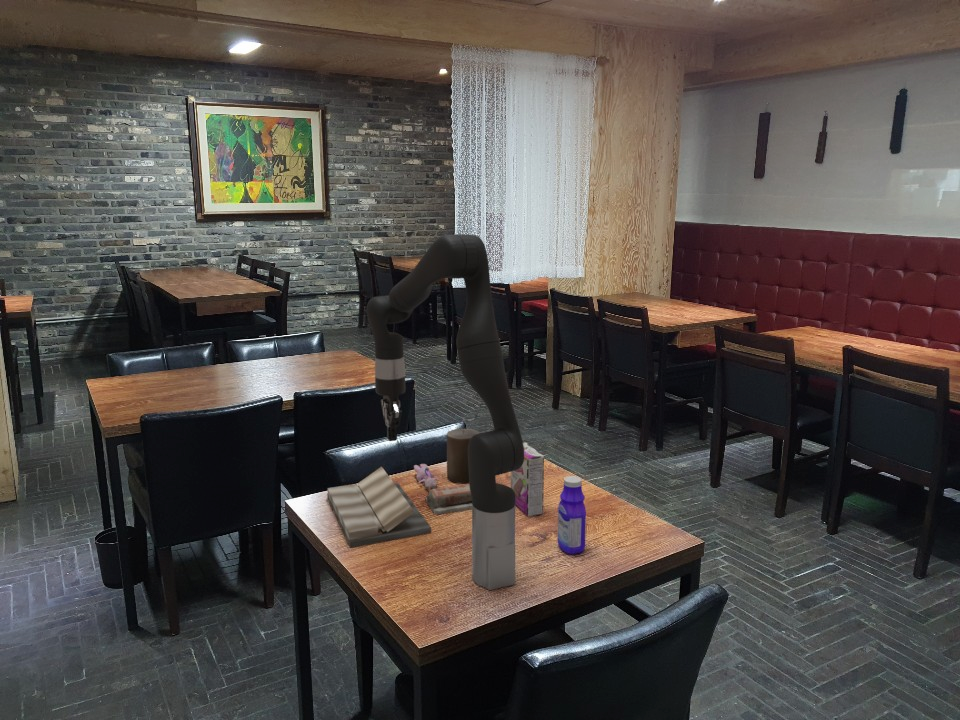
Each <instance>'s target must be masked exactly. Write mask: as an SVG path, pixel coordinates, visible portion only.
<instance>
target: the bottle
mask: <svg viewBox="0 0 960 720" xmlns="http://www.w3.org/2000/svg"><path fill="white" fill-rule="evenodd" d="M582 483H583V479H582V478H581V477H579V476H575V475H569V476H566V477H564V479H563V489H562V490H561V491H562V492H561V493H560V495H559V497H560V500H559V503H558V507H557V509H558V510H557V515H558V517H557V544H558V546H559V548H560V549H561V550H562V551H564V552H565V553H566V554H568V555H574V554H579V553H582V552H583V551H584V550H585V548H586V527H587V526H586V524H587V523H586V522H587V520H586V519H587V509H586V506H585V503H584V501H585V497H586V496H585V494H584V492H583V490H582V486H583V485H582Z"/></svg>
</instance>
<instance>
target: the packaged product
mask: <svg viewBox="0 0 960 720" xmlns="http://www.w3.org/2000/svg"><path fill="white" fill-rule="evenodd" d="M424 500H425V502H426V503H427V504H426V505H428V507H429V508H430V510H431V511H432V513H433V515H435V516H436V515H437V516H439V515H444V513H445V514H449V513H459V512H466V511H472V496H471V492H470V486H469V484H461V485H455V486H454V485H453V486H446V487H438V488H436V489H432V488H431V489H430V490H429V491H428V494H427V496H426V497H425V498H424Z"/></svg>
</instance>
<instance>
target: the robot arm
mask: <svg viewBox="0 0 960 720" xmlns="http://www.w3.org/2000/svg"><path fill="white" fill-rule="evenodd" d="M443 279H463V281H464V287H465V293H466V305H465V308H464V309H465V310H464V313H463V316H462V318H461V321H460V324H459V328H458V331H457V334H456V339H455V343H456V350H457V356H458V361H459V367H460V372H461V374H462V376H463V377H464V379H465V380H466V382H467V383H468V384H469V385H470V387H471V388H472V389H473V390H474V391H475V392H476V393H477V395H478V396H479V397H480V398H481V400H482V401H483V402H484V404H485V405H486V408H487V409H488V412H489V413H490V417H491V421H492V423H493V424H492V425H493V428H494V429H493V430H490V431H484V432H479V434H476V435H474V436H472V437H471V439H470V441H469V444H468V468H469V483H468V485H469V486H470V492H471V496H472V510H471V536H472V537H471V544H472V545H471V552H472V553H471V559H472V560H471V561H472V565H471V566H472V567H471V568H472V569H471V572H472V577H471V579H472V580H473V582H474V583H475V584H477V585H478V586H481V587H484V588H486V589H487V590H488V591H491V590H496V589H500V588H505V587H509V586H514V585H515V584H516V496H515V492H514V490H513V489H512V488H511V486H508V485H506V484H502V483H497V479H496V478H497V477H496V476H500V475H503V474H507V473H508V474H509V473H511V471H515V470H518V469H519V468H520V467H521V466H522V465H523V462H524V446H523V443H524V442H523V437H522V435H521V430H520V426H519V423H518V419H517V415H516V413H515V410H514V406H513V402H512V398H511V393H510V390H509V384H508V380H507V375H506V369H505V363H504V356H503V352H502V346H501V339H500V337H499V332H498V327H497V322H496V316H495V309H494V304H493V297H492V286H491V276H490V267H489V257H488V252H487V249H486V246H485V243H484V242H483V239H482V238H480V236H478V235H475V234H453V233H452V234H445V235H441V236H439V237H438V238H437V239H435V240H434V241H433V243H432V244H431V245H430V246H429V248H427V250H426V252H425V253H424V254H423V256H422V257H421V258H420V260H419V261H418V262H417V264H416V265H415V266H414V268H413V269H412V270H411V271H410V273H408V274H407V275H406V276H405V277H403V279H401V280H400V281H399V282H397V284H395V285H394V286H393V287H392V288H391V290H390V292H389V294H388V295H380V296H373V297H371V298H370V299H369V300H368V302H367V304H366V310H365V312H366V313H365V314H366V316H367V320H368V323H369V326H370V330H371V333H372V338H373V341H374V353H375V354H374V355H375V356H374V357H375V359H374V384H375V385H374V386H375V393H376V394H377V395H379V396H381V397H382V398H383V399H380V406H381V411H382V416H383V421H384V422H385V426H386V438H387V440H388V442H394V441H397V439H398V429H397V428H398V427H399V426H401V425H400V424H401V420H402V416H403V411H402V410H401V409H400V408H401V400H399V396H400V395H403V394H405V393H406V366H405V364H406V363H405V357H404V340H403V339H404V338H403V335H401V334H400V333H397V332H391V331H389V330H388V326H387V325H391V324H399V323H403V322H405V321H406V320H408V319H409V318H410V316H411V314H412V313H413V311H414V309H416V308H417V307H418V306H420V305H422V303H423V302H424V301H426V300H427V299H428V298H429V296H430V295H431V293H432V288H433V284H434V283H436V282H438V281H441V280H443Z"/></svg>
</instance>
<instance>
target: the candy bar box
mask: <svg viewBox="0 0 960 720" xmlns="http://www.w3.org/2000/svg"><path fill="white" fill-rule="evenodd" d="M523 446H524V462H523V465H522V466H521V467H520V468H519V469H518V470H515V471H511V472H510V488H512V489H513V490H514V492H515V496H516V505H515V507H516V508H518V510H520V511H521V512H522V513H523V514H524V516H526V517H527V518H530V517H534V516H535V517H536V516H540V515H544V486H545V485H544V484H545V482H544V481H545V480H544V479H545V478H544V476H545V475H544V474H545V473H544V472H545V455H543V454H541V452H539V451H538V450H536V449H535V448H534V447H533V446H532V445H530V444H529V443H527V442H523Z"/></svg>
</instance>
